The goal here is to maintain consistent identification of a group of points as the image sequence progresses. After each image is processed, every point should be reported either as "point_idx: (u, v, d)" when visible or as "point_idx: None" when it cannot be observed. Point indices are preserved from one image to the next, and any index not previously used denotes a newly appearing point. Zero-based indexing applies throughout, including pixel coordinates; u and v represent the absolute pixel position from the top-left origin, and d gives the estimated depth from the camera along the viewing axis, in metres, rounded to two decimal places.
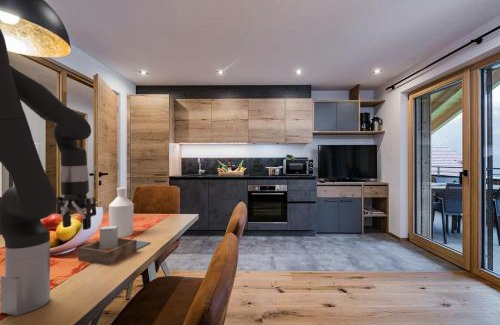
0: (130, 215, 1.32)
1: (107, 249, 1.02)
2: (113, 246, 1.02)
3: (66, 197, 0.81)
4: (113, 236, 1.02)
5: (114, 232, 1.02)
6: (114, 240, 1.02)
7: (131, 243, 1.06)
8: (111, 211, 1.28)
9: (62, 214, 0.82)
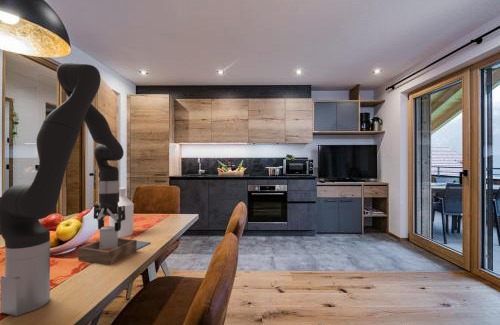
0: (130, 215, 1.32)
1: (107, 249, 1.02)
2: (113, 246, 1.02)
3: (102, 205, 1.03)
4: (113, 236, 1.02)
5: (114, 232, 1.02)
6: (114, 240, 1.02)
7: (131, 243, 1.06)
8: None
9: (98, 219, 1.04)
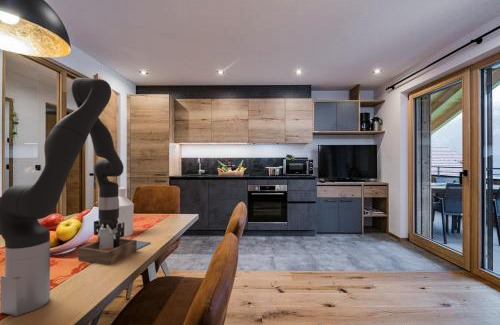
0: (130, 215, 1.32)
1: (107, 249, 1.02)
2: None
3: (101, 221, 1.03)
4: None
5: None
6: None
7: (131, 243, 1.06)
8: None
9: (98, 235, 1.04)
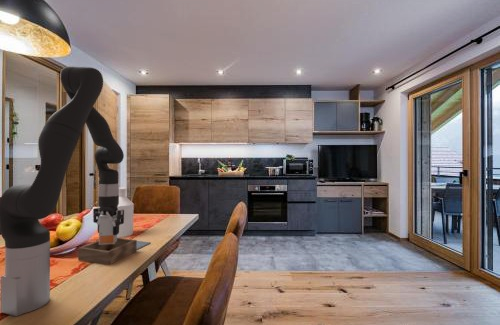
0: (130, 215, 1.32)
1: (106, 236, 1.01)
2: (112, 233, 1.02)
3: (101, 208, 1.03)
4: None
5: None
6: None
7: (131, 243, 1.06)
8: None
9: (98, 222, 1.03)
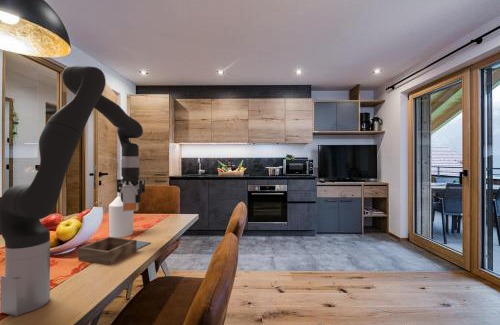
0: (130, 215, 1.32)
1: (130, 204, 1.11)
2: None
3: (124, 179, 1.13)
4: None
5: None
6: None
7: (131, 243, 1.06)
8: (111, 211, 1.28)
9: (121, 192, 1.13)
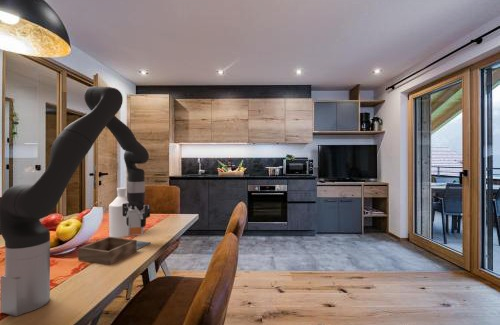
0: None
1: (135, 228, 1.14)
2: (140, 225, 1.15)
3: (129, 203, 1.15)
4: None
5: None
6: None
7: (131, 243, 1.06)
8: (111, 211, 1.28)
9: (127, 216, 1.16)
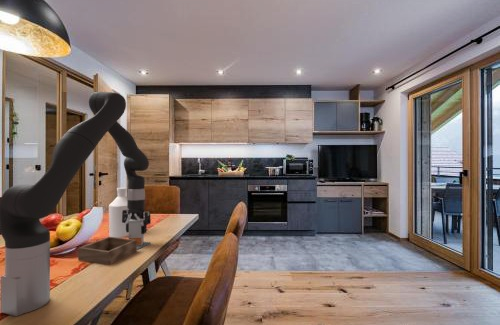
0: None
1: (135, 238, 1.14)
2: (140, 236, 1.14)
3: (129, 210, 1.16)
4: (140, 227, 1.14)
5: None
6: None
7: (131, 243, 1.06)
8: (111, 211, 1.28)
9: (126, 223, 1.16)
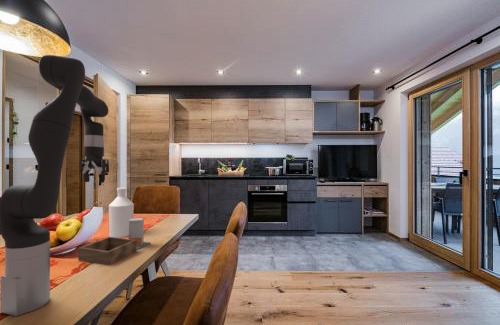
0: (130, 215, 1.32)
1: (135, 238, 1.14)
2: (140, 236, 1.14)
3: (87, 159, 1.10)
4: (140, 227, 1.14)
5: (141, 223, 1.14)
6: (141, 230, 1.15)
7: (131, 243, 1.06)
8: (111, 211, 1.28)
9: (83, 172, 1.10)
